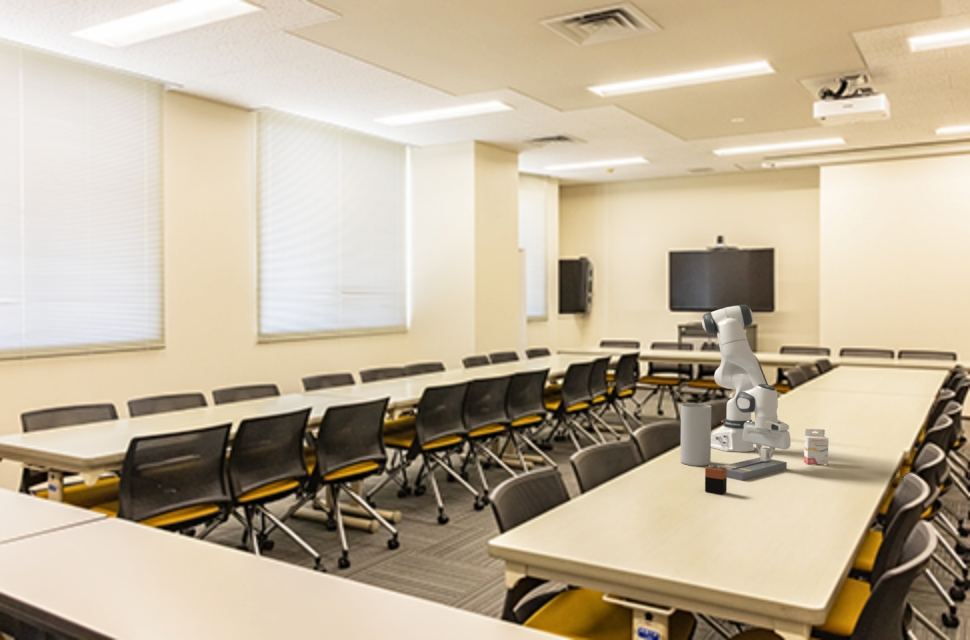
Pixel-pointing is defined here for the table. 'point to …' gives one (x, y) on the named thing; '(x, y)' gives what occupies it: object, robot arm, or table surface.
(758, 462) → the console
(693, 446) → the cylinder vase
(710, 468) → the battery
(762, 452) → the fader
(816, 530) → the table surface
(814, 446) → the ink cartridge box
